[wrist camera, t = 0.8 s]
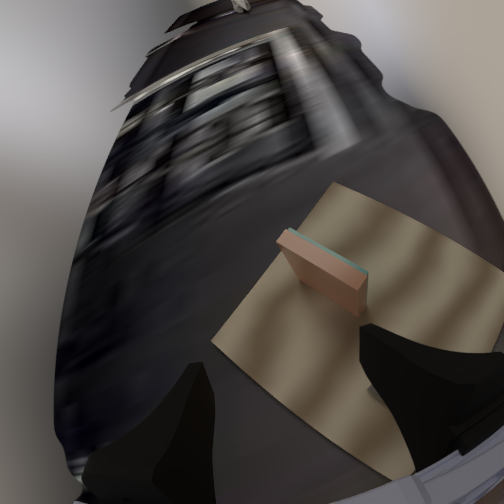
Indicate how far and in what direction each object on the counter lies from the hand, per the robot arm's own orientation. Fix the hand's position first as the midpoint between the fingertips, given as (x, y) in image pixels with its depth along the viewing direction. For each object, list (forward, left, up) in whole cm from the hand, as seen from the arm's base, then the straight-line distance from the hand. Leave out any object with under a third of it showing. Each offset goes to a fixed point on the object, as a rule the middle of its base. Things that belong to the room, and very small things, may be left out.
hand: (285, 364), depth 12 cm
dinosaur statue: (+92, -91, -14) cm, 130 cm away
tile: (+4, -7, -13) cm, 15 cm away
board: (-1, -7, -14) cm, 16 cm away
